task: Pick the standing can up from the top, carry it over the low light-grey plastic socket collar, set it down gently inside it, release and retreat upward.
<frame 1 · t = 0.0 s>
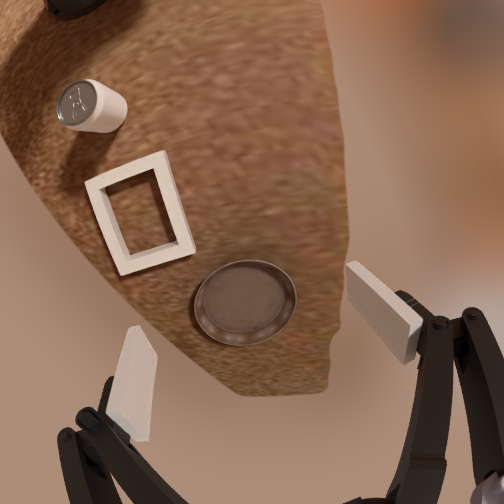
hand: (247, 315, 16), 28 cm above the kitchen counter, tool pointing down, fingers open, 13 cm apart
socket collar: (141, 213, 39), on the kitchen counter
can: (109, 112, 33), on the kitchen counter
plant saucer: (244, 298, 49), on the kitchen counter
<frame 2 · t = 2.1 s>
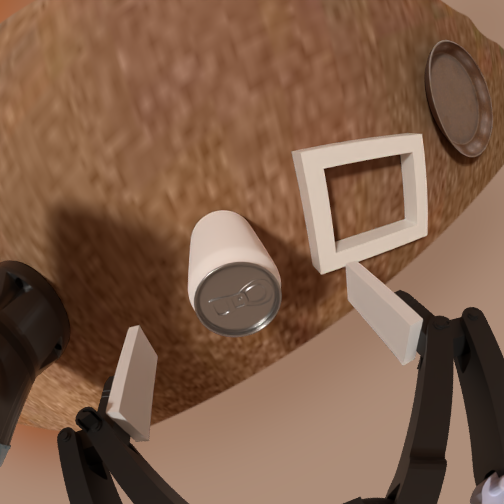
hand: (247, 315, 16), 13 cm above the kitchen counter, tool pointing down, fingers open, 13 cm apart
socket collar: (366, 195, 29), on the kitchen counter
can: (222, 239, 28), on the kitchen counter
plant saucer: (452, 97, 26), on the kitchen counter
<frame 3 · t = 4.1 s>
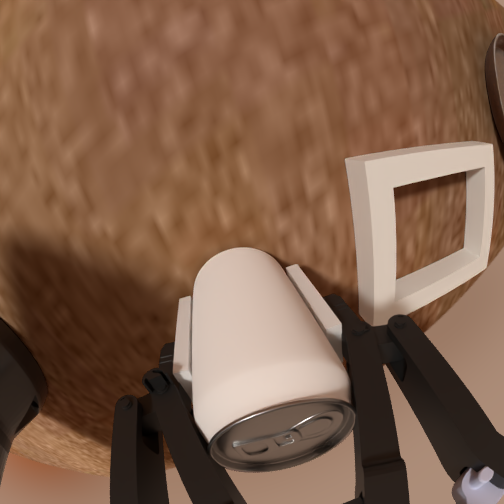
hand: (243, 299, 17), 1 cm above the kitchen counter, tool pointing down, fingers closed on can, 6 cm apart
socket collar: (429, 220, 20), on the kitchen counter
can: (239, 287, 19), on the kitchen counter, touching gripper
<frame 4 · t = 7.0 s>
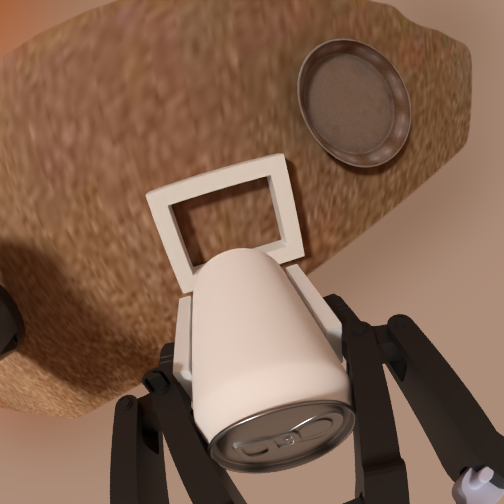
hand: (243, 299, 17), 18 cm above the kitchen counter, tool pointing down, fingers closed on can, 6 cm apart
socket collar: (227, 220, 33), on the kitchen counter
can: (239, 288, 19), point 16 cm above the kitchen counter, touching gripper
plant saucer: (350, 102, 31), on the kitchen counter
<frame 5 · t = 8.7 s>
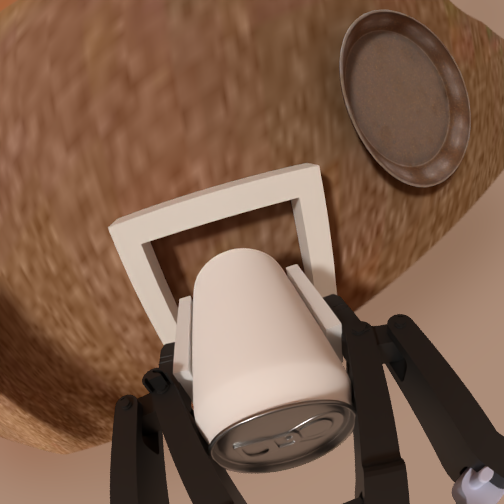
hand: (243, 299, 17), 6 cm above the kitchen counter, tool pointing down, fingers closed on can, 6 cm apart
socket collar: (232, 261, 23), on the kitchen counter
can: (240, 288, 19), point 5 cm above the kitchen counter, touching gripper
plant saucer: (401, 96, 20), on the kitchen counter
when the fingers open (2 cm above the kitchen counter, at t = 10.1 s): can stays where it is, resting in socket collar.
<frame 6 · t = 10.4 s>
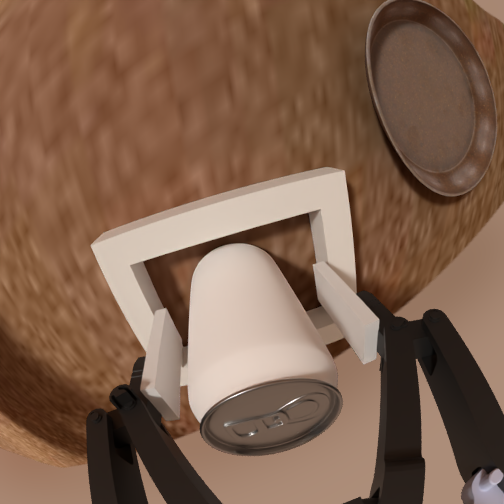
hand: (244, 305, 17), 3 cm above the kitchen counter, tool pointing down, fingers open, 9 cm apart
socket collar: (238, 282, 20), on the kitchen counter
can: (235, 281, 20), resting in socket collar
plant saucer: (427, 94, 17), on the kitchen counter
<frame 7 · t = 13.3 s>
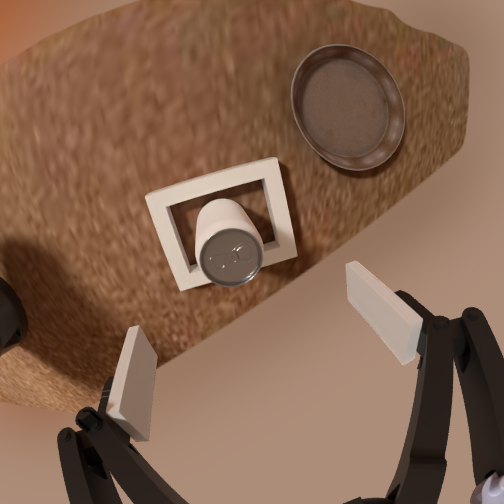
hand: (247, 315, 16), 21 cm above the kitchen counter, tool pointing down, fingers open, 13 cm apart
socket collar: (223, 221, 35), on the kitchen counter
can: (221, 222, 35), resting in socket collar
plant saucer: (344, 107, 32), on the kitchen counter
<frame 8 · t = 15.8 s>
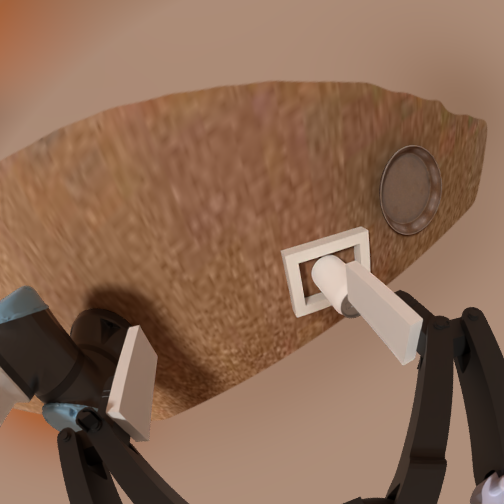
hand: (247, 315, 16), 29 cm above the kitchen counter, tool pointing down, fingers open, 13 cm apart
socket collar: (327, 269, 50), on the kitchen counter
can: (326, 269, 50), resting in socket collar
plant saucer: (405, 187, 47), on the kitchen counter
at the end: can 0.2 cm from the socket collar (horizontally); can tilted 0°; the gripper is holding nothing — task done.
